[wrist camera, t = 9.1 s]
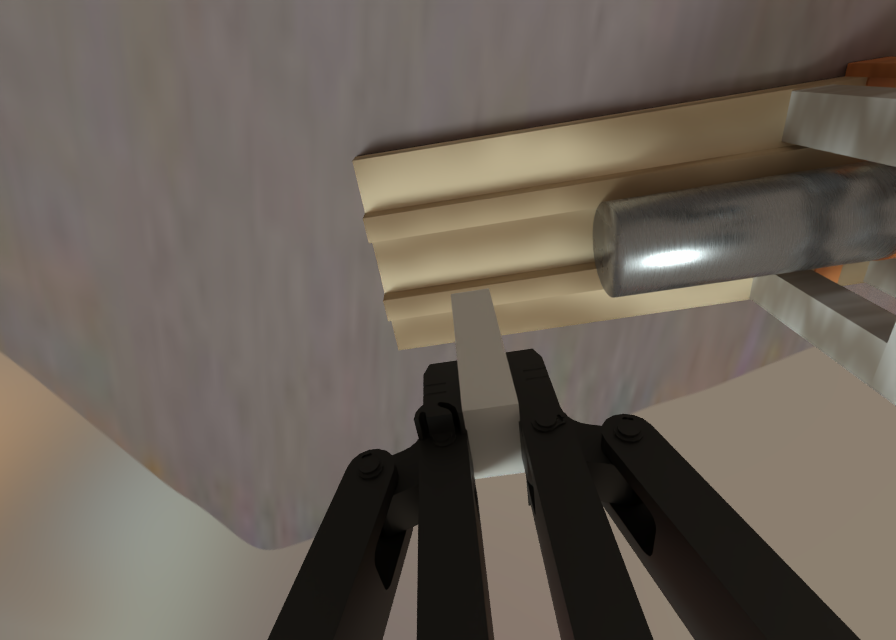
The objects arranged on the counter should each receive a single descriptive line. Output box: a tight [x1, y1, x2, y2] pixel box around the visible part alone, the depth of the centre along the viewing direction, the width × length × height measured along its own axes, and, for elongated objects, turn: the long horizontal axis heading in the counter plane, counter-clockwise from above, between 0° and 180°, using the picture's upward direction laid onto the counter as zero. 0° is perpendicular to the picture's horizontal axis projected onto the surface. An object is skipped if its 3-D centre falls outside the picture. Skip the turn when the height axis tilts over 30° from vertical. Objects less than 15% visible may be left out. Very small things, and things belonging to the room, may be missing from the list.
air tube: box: [593, 161, 896, 298], centre depth 23 cm, size 20×5×5 cm, turn 98°
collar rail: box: [353, 57, 896, 406], centre depth 22 cm, size 13×34×12 cm, turn 98°
